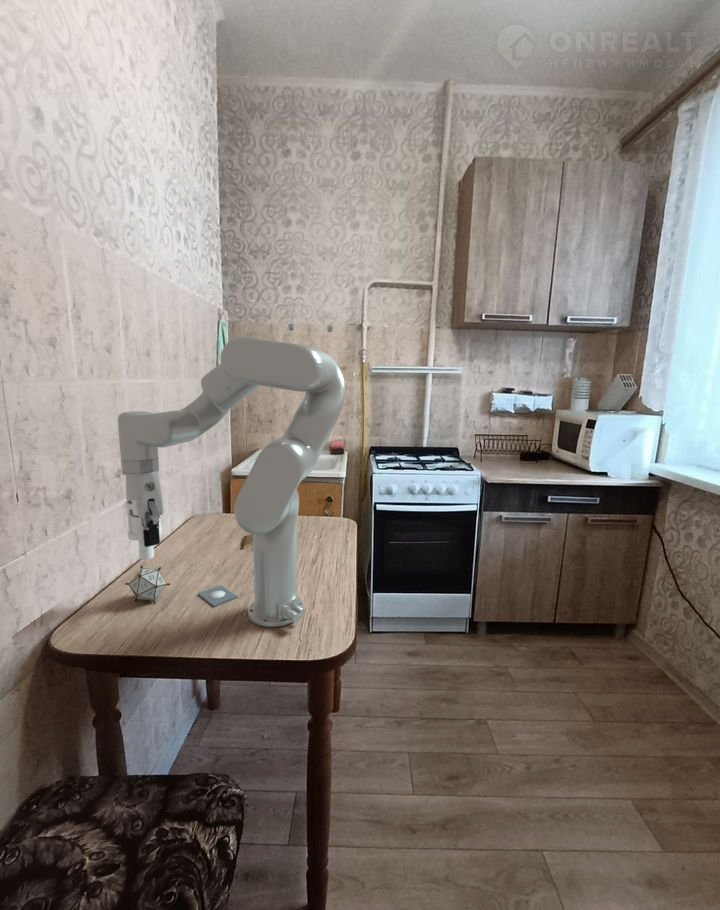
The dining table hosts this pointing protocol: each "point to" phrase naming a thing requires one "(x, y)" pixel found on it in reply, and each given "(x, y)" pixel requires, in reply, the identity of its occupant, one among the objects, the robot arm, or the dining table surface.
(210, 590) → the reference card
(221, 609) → the dining table surface
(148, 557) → the white cylindrical housing
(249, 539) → the shard
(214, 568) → the dining table surface
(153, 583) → the game die
